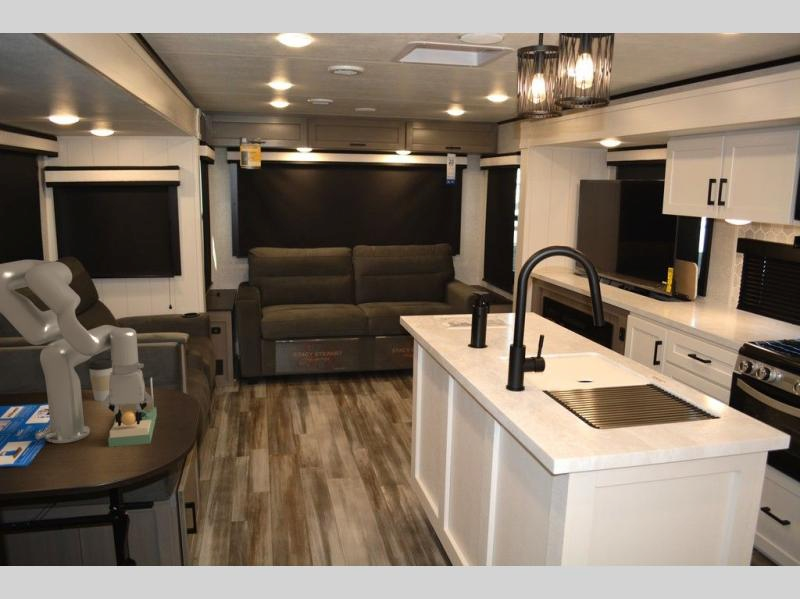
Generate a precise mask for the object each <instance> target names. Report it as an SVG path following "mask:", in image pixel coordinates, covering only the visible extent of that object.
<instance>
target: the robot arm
mask: <svg viewBox="0 0 800 599" xmlns="http://www.w3.org/2000/svg"><path fill="white" fill-rule="evenodd" d="M72 280H73V274H72V271H71V269H70V268H69V267H68V266H67V265H66V264H64V263H63V262H60V261H54V260H51V261H50V260H39V259H22V260H16V261H10V262H4V263H0V314H2V315H3V316H4V317H5V319H7V321H8V322H9V323H10V324H11V325H12V326H13V327H14V328H15V329H16V331H17V332H19V334H20V336H22V337H23V339H25V340H26V341H27V342H28V343H29V344H31V345H34V346H39V345H42V344H47V343H48V344H47V345H45V347H44V348H43V349H42V350H41V352H40V355H39V359H40V361H39V362H40V365H41V367H42V371H43V374H44V378H45V380H44V381H45V385H46V394H47V403H48V404H47V405H48V413H49V414H48V416H49V424H47V425H46V428H45V429H44V430H43V431H40V432H36V433H35V434H34V435H35V437H34V438H35V439H36V440H40V439H45V440H46V439H47V440H46V441H47V442H48V443H51V442H52V443H51V444H68V443H69V444H70V443H73V442H77V441H80V440H82V439H84V438H86V437H87V436H89V435H90V433H91V431H90V430H91V429H90V427H89V426H86V425H85V421H84V412H83V409H84V408H83V398H82V397H83V396H82V386H81V380H80V377H79V375H78V373H77V372H76V370H75V367H76V366H78V365H80V364H82V363H85V362H87V361H88V360H90V359H91V358H92V357H93V356H97V355H98V354H100V353H102V352H106V351H109V350H110V356H111V358H110V359H111V360H112V372H111V373H110V380H109V395H108V396H107V397H106V399H105V400H104V401H102V406H104V407H106V408H108V409H109V410H110V411H111V412H112V413H113V414H114V416H115V419H116V423H118V426H120V425H121V423H122V422H121V419H120V417H121V411H120V410H121V409H120V408H121V405H125V404H135V405H136V408H137V412H136V419H137V424H140V421H142V410H143V409H144V408H145V407H146V406H147V405H148V404H149V403H151V402H152V400H153V401H154V397H153V398H152V397H151V394H149V393H148V392H147V391H146V386H145V385H146V384H145V380H144V375H143V371H142V369H143V368H144V363H141V362H140V361H139V354H138V353H139V351H138V335H137V331H136V330H135V329H133V328H131V327H118V326H116V325H115V326H114V325H111V324H104V325H99V326H97V327H95V328H92V329H88V330H87V329H86V328H85V327H84V326H83V325H82V324H81V323H80V321H79V320H78V319H77V316H76V309H77V308H78V307H79V305H80V303H81V297H80V296H79V294H77V293H76V291H75V290H73V289H72V288H71V287H70V286H69V285H70V284H71V283H72ZM25 287H26V288H29V289H30V291H32V292H33V293H34V295H36V296H37V298H39V299H40V301H42V302H43V303H44V304H45V305H46V306H47V307H48V308H49V309H48V310H45V311H42V310H40V308H38V307H37V306H36V305H35V304H34V303H33V302H32V301H31V300H30V299H29V298H28V297H26V296H24V295H23V294H21V293H19V292H17V291H16V290H18V289H21V288H25ZM49 342H50V343H49ZM142 402H143V403H142ZM141 403H142V404H141Z"/></svg>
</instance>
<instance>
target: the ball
mask: <svg viewBox="0 0 800 599" xmlns="http://www.w3.org/2000/svg"><path fill="white" fill-rule="evenodd" d="M120 419H121V422H122V423H123V424H124V425H127V426H130V425H133V424H134V423H135V422H136V421H137V419H136V412H135V411H134V410H131V409H128V410H125V411H124V412H123V413H122V414H121V417H120Z"/></svg>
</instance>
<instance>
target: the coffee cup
mask: <svg viewBox="0 0 800 599" xmlns="http://www.w3.org/2000/svg"><path fill="white" fill-rule="evenodd" d="M88 369H89V377H90V383H91V389H92V392H93V398H94V401H96V402H103V401H104V400H105V399H106V397H107V396H108V395H109V380H110V373H111V372H112V359H111V358H109V357H101V358H96V359H93V360H91V362H90V363H89V364H88Z"/></svg>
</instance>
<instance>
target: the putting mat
mask: <svg viewBox="0 0 800 599" xmlns="http://www.w3.org/2000/svg"><path fill="white" fill-rule="evenodd" d="M149 383H150V396H151V397H152V398H153V400H152V402H151V403H149V404H148V405H147V406H146V407H145V408H144V409H143V410H142V421H140V424H137V421H136V422H135V423H134V424H133V425H130V426H127V425H124V424H123V423H121V425H120V426H118V423H116V418H115V420H114V422H113V425H112V427H111V428H110V430H109V435H108V438H107V440H108V447H109V448H115V447H114V446H116V447H124V446H136V445H146V444H151V441H152V438H153V432H154V429H155V424H156V421H155V420H157V416H158V415H157V413H158V412H157V406H154V404H155V403H154V391H153V376H151V377H150V378H149ZM143 402H144V401H143ZM143 402H142V403H143ZM142 403H141V404H142ZM120 408H121V409H120V411H121V414H122V413H123V412H124V411H125V410H128V409H131V410H134V411H135V412H137V408H136V405H135V404H125V405H120Z"/></svg>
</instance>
